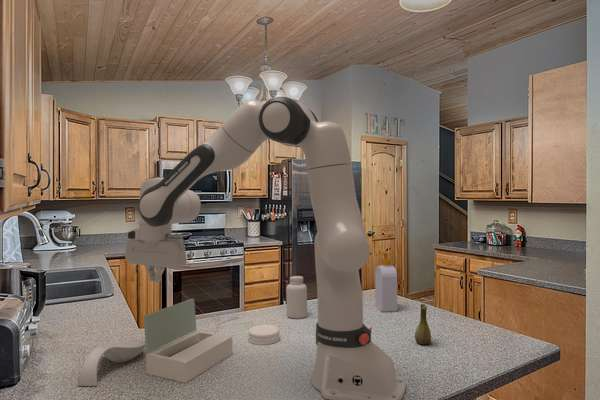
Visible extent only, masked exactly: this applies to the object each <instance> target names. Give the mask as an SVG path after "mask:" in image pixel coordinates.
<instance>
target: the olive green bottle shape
mask: <svg viewBox="0 0 600 400" xmlns="http://www.w3.org/2000/svg"><path fill="white" fill-rule="evenodd" d="M427 308H428V307H427V306H426V303H421V304H420V318H419V319H420V320H419V323H418V325H417V327H416V330H415V332H414V340H415V341H416V342H417V344H419V345H428V344H430V343H431V342H432V333H431V329H430V327H429V323H428V321H427V310H428V309H427Z"/></svg>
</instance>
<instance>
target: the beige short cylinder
mask: <svg viewBox="0 0 600 400" xmlns="http://www.w3.org/2000/svg"><path fill="white" fill-rule="evenodd" d="M247 333H248V335H247V336H248V342H249V343H251V344H254V345H257V346H258V345H260V346H265V345H272V344H273V345H274V344H276V343H277V342H279V340H280V335H281V334H280V328H279V327H278V326H275V325H271V324H259V325H255V326H252V327H250V328H249V329H248V332H247Z"/></svg>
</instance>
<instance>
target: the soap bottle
mask: <svg viewBox="0 0 600 400" xmlns="http://www.w3.org/2000/svg"><path fill="white" fill-rule="evenodd" d="M380 255H383V259H381V260H380V261H381V264H380V265H377V266H376V267H375V272H374V274H375V275H374V279H375V280H374V282H375V284H374V287H375V289H374V290H375V292H374V293H375V296H374V297H375V299H374V300H375V302H374V303H375V308H377V309H378V310H379V311H380V312H381V313H387V312H388V313H389V312H391V313H392V312H398V273H397V269H396V267H395V266H394V265H391V259H388V256H391V254H390V253H388V252H378V253H377V254H376V256H380Z"/></svg>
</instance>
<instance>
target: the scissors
mask: <svg viewBox="0 0 600 400" xmlns="http://www.w3.org/2000/svg"><path fill="white" fill-rule="evenodd" d="M231 318H232V319H231ZM211 319H212V320H215V322H216V324H215V325H214V326H212V327H210V328H209V329H207V330H205V331H204V332H209V331H210V329H211V330H213V329H214V327H215V326H216V327H215V331H214V333H217V331H218V330H219V328H220V327H219V326H221V325H222V323H223V324H225V323H226V321H228V322H230V321H235V320H238V319H239V317H238V316H231V317H229V318H228V320H224V321H219V320H220V319H221V317H220V316H217V315H215V314H213V315H212V317H211ZM220 324H221V325H220ZM212 328H213V329H212Z"/></svg>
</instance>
